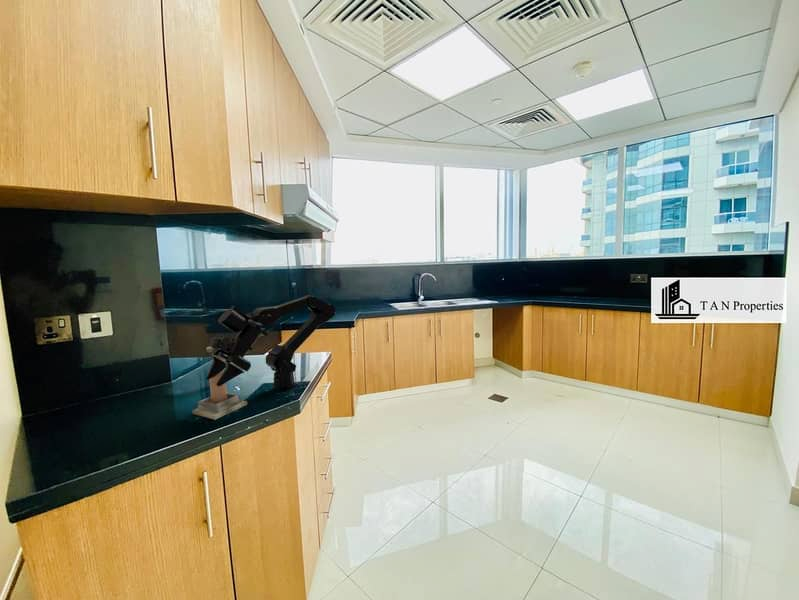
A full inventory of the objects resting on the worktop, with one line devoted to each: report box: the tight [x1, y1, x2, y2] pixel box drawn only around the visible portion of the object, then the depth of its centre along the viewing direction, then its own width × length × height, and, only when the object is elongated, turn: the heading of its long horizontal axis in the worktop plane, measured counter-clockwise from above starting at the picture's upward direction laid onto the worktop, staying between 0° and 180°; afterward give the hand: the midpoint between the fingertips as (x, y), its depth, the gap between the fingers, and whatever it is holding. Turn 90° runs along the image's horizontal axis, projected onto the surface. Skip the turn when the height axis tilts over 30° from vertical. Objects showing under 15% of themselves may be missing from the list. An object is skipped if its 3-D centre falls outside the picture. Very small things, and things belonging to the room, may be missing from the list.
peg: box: [208, 376, 228, 404], centre depth 102 cm, size 4×4×9 cm
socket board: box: [191, 391, 248, 420], centre depth 103 cm, size 11×11×4 cm
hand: (212, 382), depth 101 cm, fingers open, 9 cm apart
